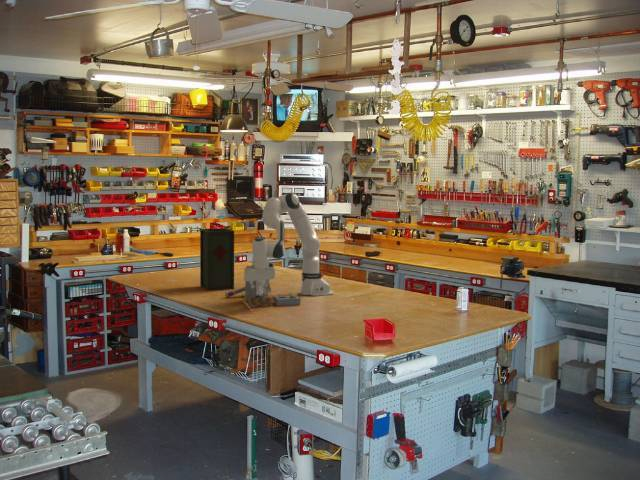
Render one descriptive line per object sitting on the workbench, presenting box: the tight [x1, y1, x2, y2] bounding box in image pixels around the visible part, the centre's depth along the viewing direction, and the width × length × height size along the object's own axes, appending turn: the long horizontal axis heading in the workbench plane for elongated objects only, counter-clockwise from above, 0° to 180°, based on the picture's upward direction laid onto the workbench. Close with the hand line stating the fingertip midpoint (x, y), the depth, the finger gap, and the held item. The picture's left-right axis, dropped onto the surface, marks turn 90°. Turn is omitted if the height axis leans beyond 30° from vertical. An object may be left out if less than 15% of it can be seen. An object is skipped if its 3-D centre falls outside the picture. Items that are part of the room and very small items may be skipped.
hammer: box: [224, 282, 272, 299], centre depth 421 cm, size 15×8×30 cm
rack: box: [247, 294, 272, 310], centre depth 389 cm, size 12×10×6 cm
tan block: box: [289, 291, 298, 298], centre depth 395 cm, size 3×5×6 cm, turn 16°
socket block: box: [273, 295, 301, 307], centre depth 394 cm, size 14×10×5 cm
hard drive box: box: [244, 280, 267, 303], centre depth 406 cm, size 16×8×20 cm, turn 162°
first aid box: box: [199, 227, 235, 292], centre depth 446 cm, size 18×18×40 cm
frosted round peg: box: [257, 283, 263, 298], centre depth 388 cm, size 3×3×12 cm
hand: (259, 287), depth 389 cm, fingers open, 8 cm apart
